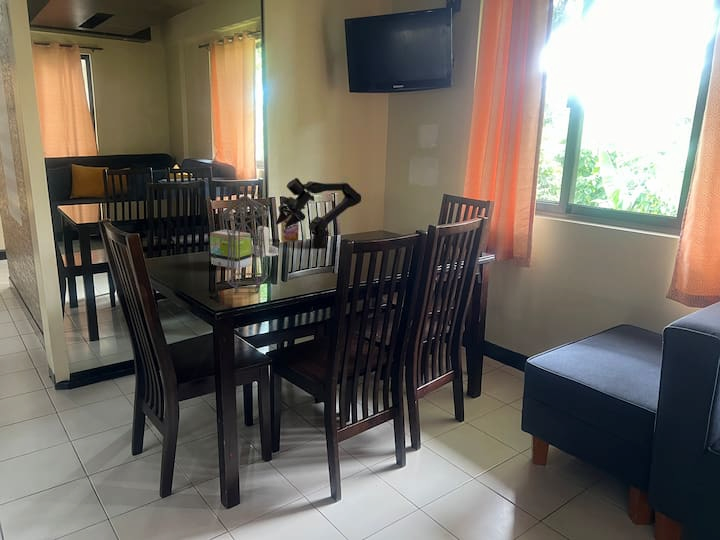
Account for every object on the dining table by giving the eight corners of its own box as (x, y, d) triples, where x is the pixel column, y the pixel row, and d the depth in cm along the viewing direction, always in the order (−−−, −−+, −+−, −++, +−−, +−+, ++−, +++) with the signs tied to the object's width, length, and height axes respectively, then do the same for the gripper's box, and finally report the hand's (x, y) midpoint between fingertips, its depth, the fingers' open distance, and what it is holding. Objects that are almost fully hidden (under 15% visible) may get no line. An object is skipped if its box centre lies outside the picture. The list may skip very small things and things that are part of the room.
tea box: (210, 265, 230) (208, 232, 227) (226, 260, 239) (224, 228, 235) (237, 270, 224) (235, 235, 220) (252, 265, 232) (251, 232, 229)
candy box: (282, 242, 283) (282, 214, 279) (281, 240, 287) (280, 212, 283) (298, 241, 286) (298, 213, 282) (297, 240, 290) (296, 212, 286)
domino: (257, 250, 256) (257, 226, 253) (263, 250, 258) (263, 225, 255) (263, 253, 251) (262, 228, 248) (269, 252, 253) (269, 227, 250)
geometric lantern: (271, 285, 202) (270, 194, 194) (265, 297, 187) (263, 199, 178) (230, 284, 202) (226, 193, 193) (221, 297, 187) (217, 198, 178)
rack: (249, 252, 257) (249, 245, 257) (266, 250, 263) (266, 243, 262) (260, 257, 247) (260, 250, 246) (278, 255, 252) (278, 248, 251)
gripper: (281, 188, 263) (261, 212, 260) (299, 192, 249) (278, 217, 245) (295, 203, 270) (276, 226, 266) (314, 208, 255) (294, 232, 252)
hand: (280, 225), depth 257 cm, fingers open, 9 cm apart
